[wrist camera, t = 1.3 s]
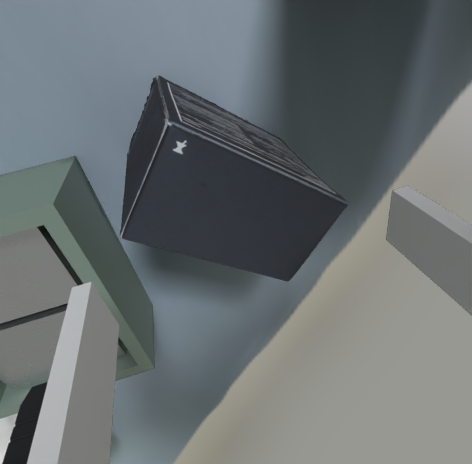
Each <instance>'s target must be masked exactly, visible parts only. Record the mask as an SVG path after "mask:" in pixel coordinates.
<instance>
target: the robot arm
mask: <svg viewBox="0 0 472 464" xmlns="http://www.w3.org/2000/svg"><path fill="white" fill-rule="evenodd" d="M386 240H387V241H388V242H389V243H391V244H392V245H393V246H394V247H395V248H396V249H397V250H398V251H399V252H401V253H402V254H403V255H404V256H405V257H406V258H407V259H408V260H410V261H411V262H412V263H413V264H414V265H415V266H416V267H418V268H419V269H420V270H421V271H423V273H424V274H426V275H427V276H428V277H429V278H430V279H431V280H432V281H433V282H434V283H436V284H437V285H438V286H439V287H440V288H441V289H442V290H443V291H445V292H446V293H447V294H448V295H449V296H450V297H451V298H452V299H454V300H455V301H456V302H457V303H458V304H459V305H460V306H462V307H463V308H464V309H465V310H466V311H467V312H468V313H470V314H471V315H472V224H470V223H469V222H467V221H465V220H464V219H462V218H460V217H459V216H457V215H455V214H454V213H452V212H450V211H449V210H447V209H446V208H444V207H442V206H440V205H439V204H438V203H436V202H434V201H433V200H431V199H429V198H428V197H426V196H424V195H422V194H421V193H420V192H418V191H416V190H415V189H413V188H411V187H410V186H405V187H401V188H398V189H395V190H392V196H391V204H390V211H389V220H388V227H387V235H386ZM118 334H119V324H118V322H117V321H116V319H115V318H114V316H113V315H112V313H111V311H110V310H109V308H108V307H107V305H106V304H105V302H104V300H103V299H102V297H101V296H100V294H99V293H98V291H97V290H96V288H95V286H94V285H93V283H92V282H89V283H85V284H82V285H79V286H76V287H72V290H71V293H70V297H69V301H68V305H67V309H66V313H65V317H64V321H63V325H62V329H61V332H60V336H59V340H58V344H57V348H56V352H55V356H54V360H53V364H52V368H51V371H50V375H49V379H48V382H45V383H42V384H39V385H36V386H33V387H32V388H31V389H30V391H29V393H28V394H27V396H26V397H25V399H24V400H23V402H22V404H21V405H20V408H19V411H18V415H17V418H16V421H15V427H13V431H12V434H11V437H10V443H8V447H7V450H6V453H5V456H4V460H3V463H2V464H110V450H111V435H112V421H113V406H114V392H115V377H116V363H117V349H118Z"/></svg>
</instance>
